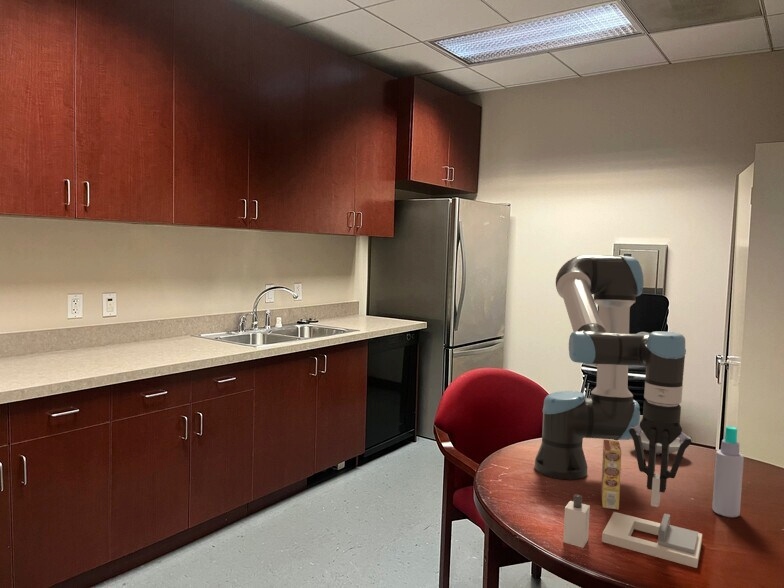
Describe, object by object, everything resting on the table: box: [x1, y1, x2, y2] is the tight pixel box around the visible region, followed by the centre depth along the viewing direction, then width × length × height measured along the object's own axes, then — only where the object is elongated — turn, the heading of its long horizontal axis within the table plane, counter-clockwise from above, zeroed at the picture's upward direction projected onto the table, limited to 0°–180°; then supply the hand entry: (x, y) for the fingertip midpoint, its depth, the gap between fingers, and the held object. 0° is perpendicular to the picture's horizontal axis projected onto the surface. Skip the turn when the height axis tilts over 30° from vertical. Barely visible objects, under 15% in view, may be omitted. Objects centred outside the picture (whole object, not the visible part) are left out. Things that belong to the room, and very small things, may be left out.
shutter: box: [657, 513, 699, 554], centre depth 126 cm, size 7×10×3 cm
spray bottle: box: [711, 425, 745, 518], centre depth 144 cm, size 6×6×22 cm
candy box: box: [601, 439, 622, 510], centre depth 149 cm, size 9×4×15 cm, turn 162°
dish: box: [631, 430, 681, 455], centre depth 188 cm, size 18×14×5 cm
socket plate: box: [601, 511, 703, 569], centre depth 129 cm, size 19×13×2 cm
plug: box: [562, 494, 591, 549], centre depth 128 cm, size 4×4×10 cm
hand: (655, 504), depth 129 cm, fingers closed
